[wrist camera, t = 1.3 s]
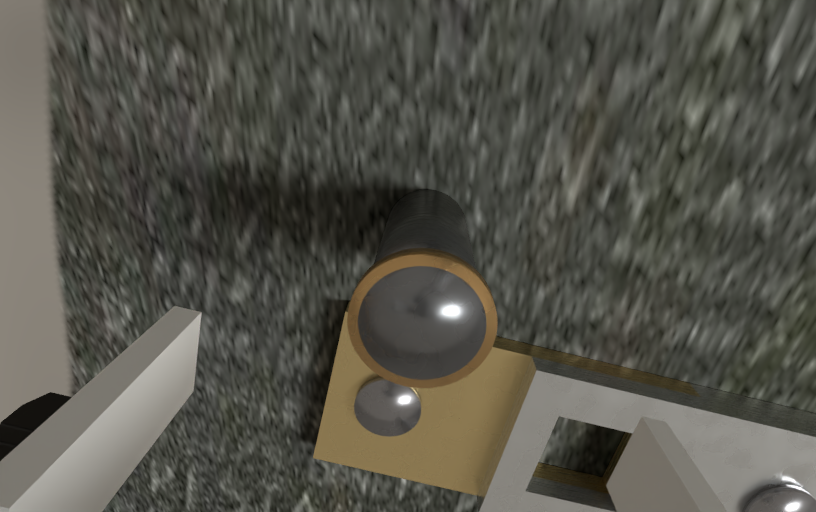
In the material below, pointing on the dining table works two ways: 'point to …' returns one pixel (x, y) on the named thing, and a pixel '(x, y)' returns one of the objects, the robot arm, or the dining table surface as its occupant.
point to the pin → (423, 298)
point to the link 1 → (445, 418)
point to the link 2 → (688, 419)
